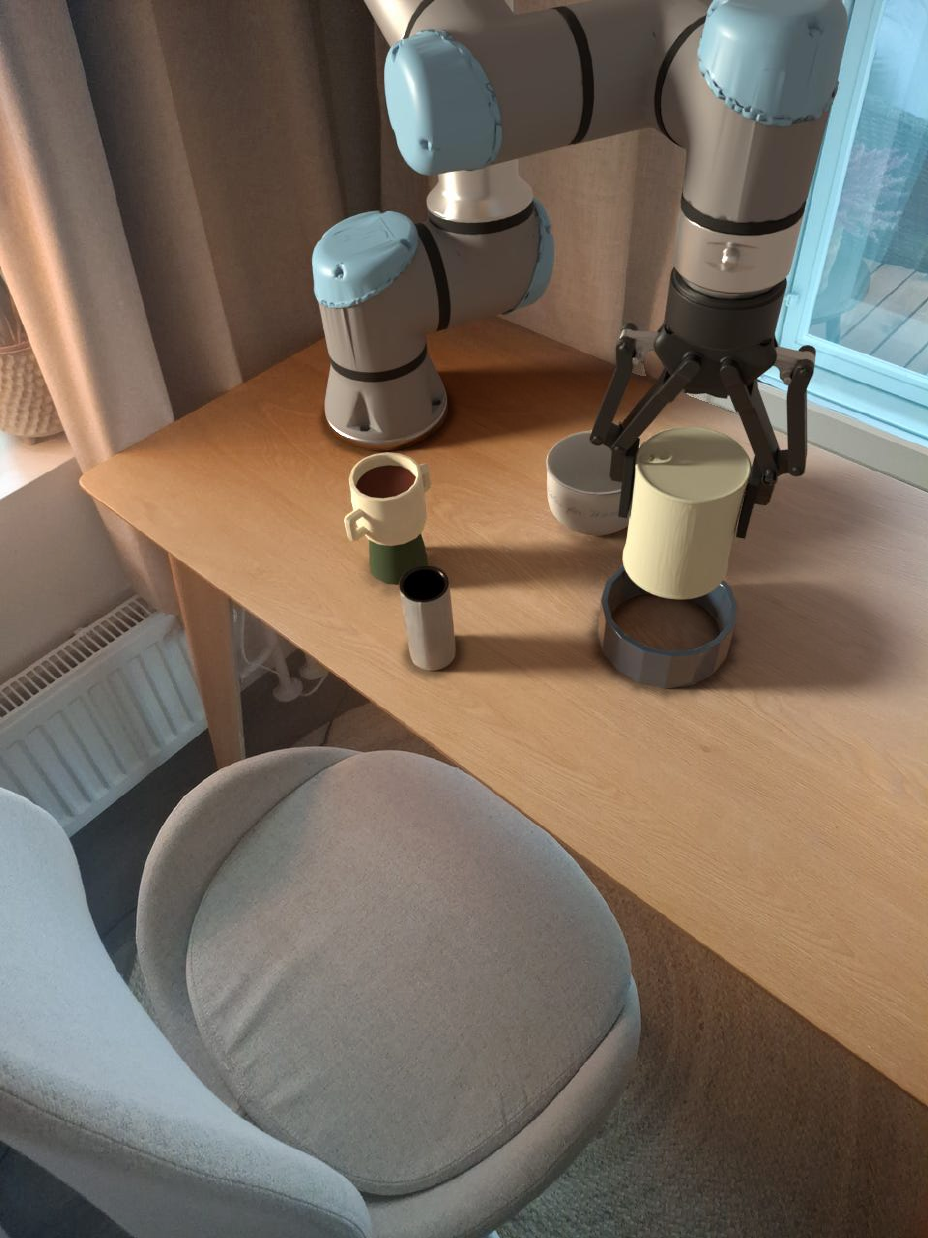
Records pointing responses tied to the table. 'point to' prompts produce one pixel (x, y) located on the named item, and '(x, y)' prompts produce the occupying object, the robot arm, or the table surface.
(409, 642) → the planter
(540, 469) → the table surface
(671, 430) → the can
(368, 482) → the character mug
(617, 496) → the teacup
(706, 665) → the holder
